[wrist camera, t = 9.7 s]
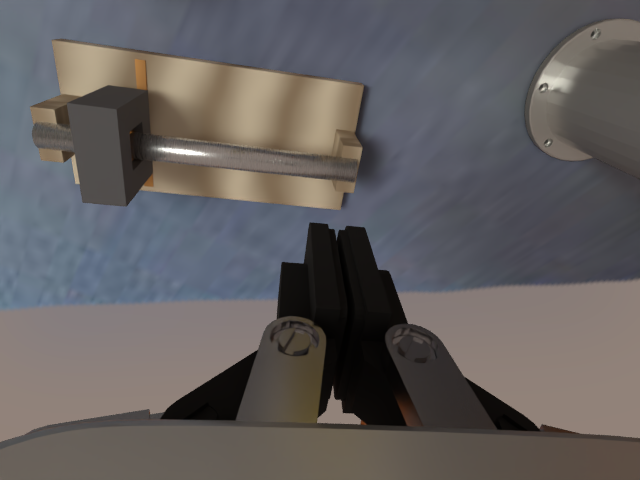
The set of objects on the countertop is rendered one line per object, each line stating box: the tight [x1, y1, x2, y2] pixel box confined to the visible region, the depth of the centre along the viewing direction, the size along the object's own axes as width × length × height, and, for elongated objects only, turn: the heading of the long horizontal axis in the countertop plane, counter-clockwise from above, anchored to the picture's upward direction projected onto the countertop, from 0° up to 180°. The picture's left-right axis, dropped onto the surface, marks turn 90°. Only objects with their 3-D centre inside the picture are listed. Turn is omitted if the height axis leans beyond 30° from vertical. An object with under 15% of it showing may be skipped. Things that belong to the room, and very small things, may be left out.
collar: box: [67, 85, 153, 206], centre depth 30 cm, size 3×7×7 cm, turn 171°
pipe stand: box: [30, 39, 364, 210], centre depth 34 cm, size 25×12×6 cm, turn 81°
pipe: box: [32, 121, 357, 183], centre depth 31 cm, size 24×2×2 cm, turn 81°
